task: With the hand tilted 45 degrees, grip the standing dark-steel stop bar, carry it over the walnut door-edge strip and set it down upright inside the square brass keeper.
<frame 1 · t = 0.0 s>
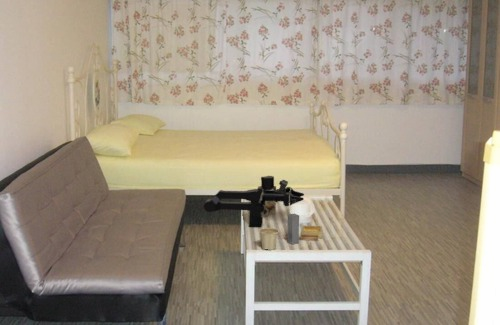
hand: (303, 196, 313), 17 cm above the table, tool horizontal, fingers open, 9 cm apart
flower pot: (268, 248, 282), on the table
stop bar: (293, 243, 290), on the table
coffee box: (266, 214, 342), on the table
keeper: (311, 235, 302), on the table
door edge strip: (301, 239, 295), on the table
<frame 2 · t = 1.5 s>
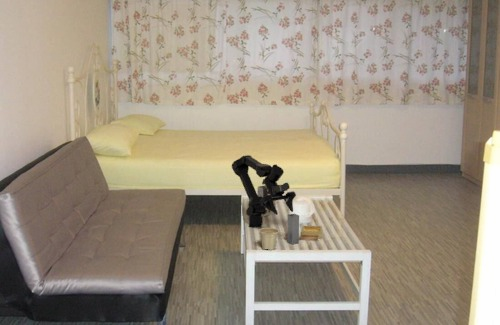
hand: (284, 212, 293), 13 cm above the table, tool tilted 45°, fingers open, 9 cm apart
nothing on the table moved.
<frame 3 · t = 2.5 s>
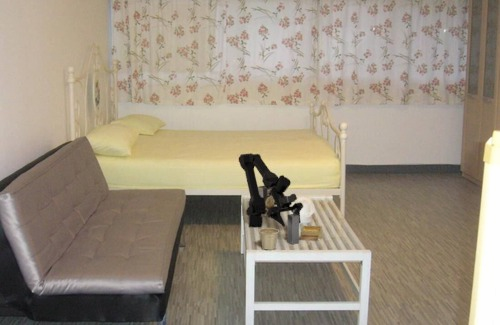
hand: (292, 224, 289), 9 cm above the table, tool tilted 45°, fingers open, 9 cm apart
nothing on the table moved.
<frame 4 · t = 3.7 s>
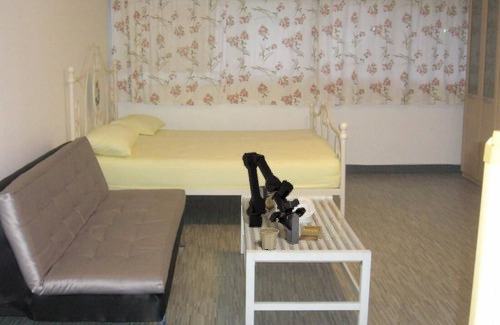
hand: (294, 229, 287), 7 cm above the table, tool tilted 45°, fingers closed on stop bar, 4 cm apart
stop bar: (293, 243, 290), on the table, touching gripper
everything else where it was.
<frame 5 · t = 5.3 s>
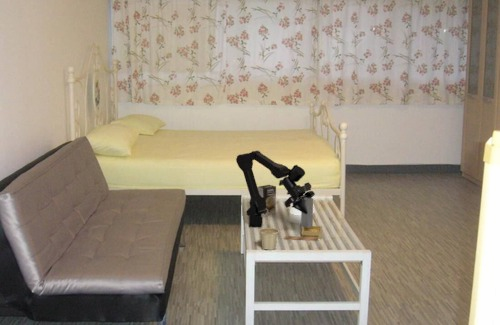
hand: (309, 212, 294), 13 cm above the table, tool tilted 45°, fingers closed on stop bar, 4 cm apart
stop bar: (306, 226, 296), point 6 cm above the table, touching gripper
everything else where it was.
when the fingers open (9 cm above the table, at t = 6.7 s): stop bar drops 2 cm, resting on keeper.
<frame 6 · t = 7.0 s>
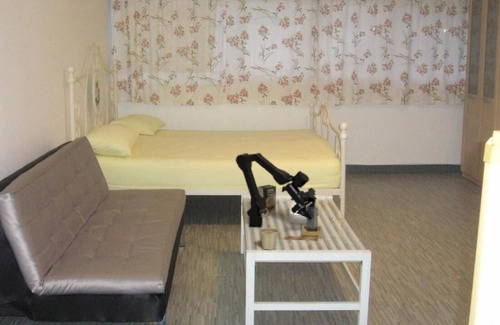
hand: (314, 217, 299), 10 cm above the table, tool tilted 45°, fingers open, 7 cm apart
stop bar: (312, 234, 302), resting on keeper
everything else where it was.
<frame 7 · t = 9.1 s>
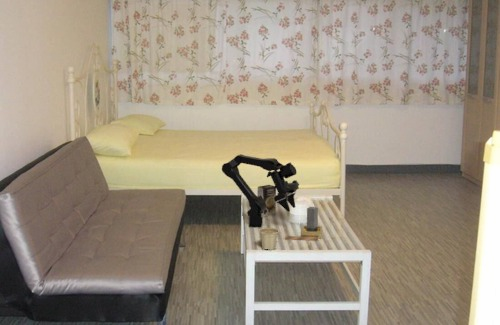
hand: (291, 209, 307), 11 cm above the table, tool tilted 25°, fingers open, 9 cm apart
nothing on the table moved.
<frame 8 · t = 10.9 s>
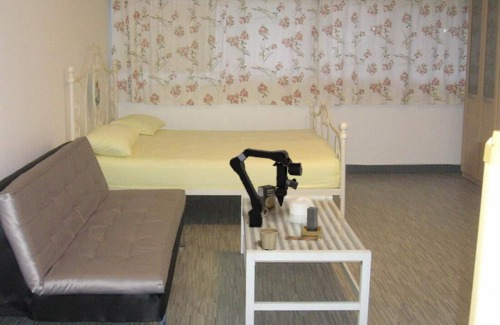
hand: (281, 204, 312), 13 cm above the table, tool pointing down, fingers open, 9 cm apart
nothing on the table moved.
at the end: stop bar 0.1 cm off-centre on the keeper, point 0.3 cm above the keeper's base; stop bar tilted 0°; the gripper is holding nothing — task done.
